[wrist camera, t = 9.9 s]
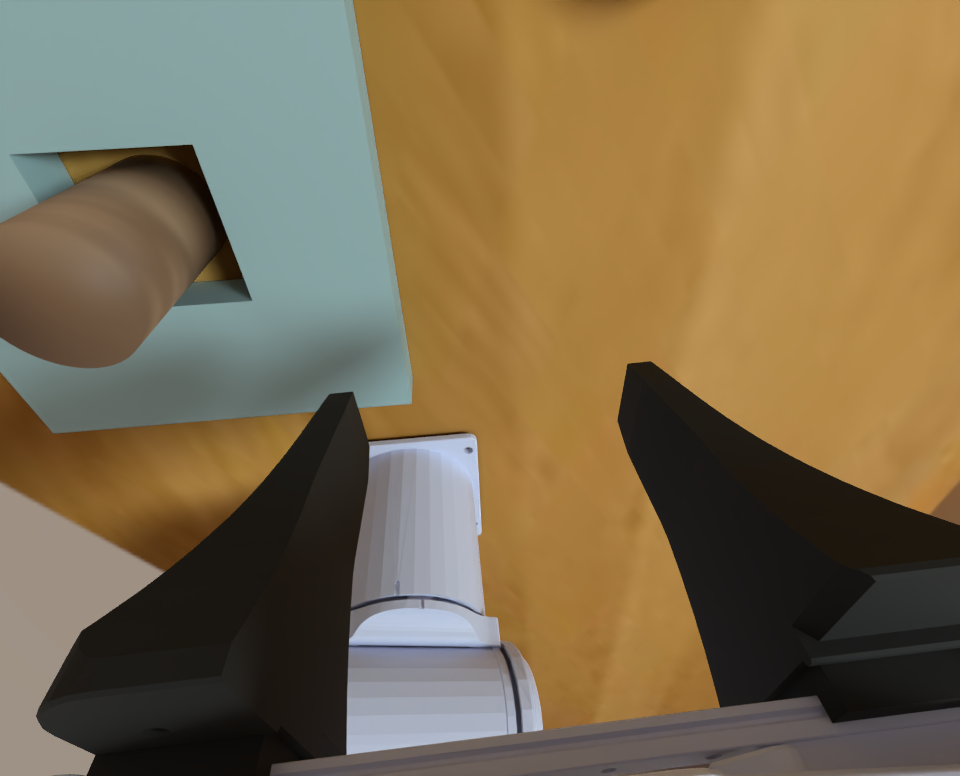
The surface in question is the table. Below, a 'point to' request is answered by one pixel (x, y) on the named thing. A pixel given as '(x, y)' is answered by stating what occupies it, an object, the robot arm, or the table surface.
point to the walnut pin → (105, 261)
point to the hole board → (217, 200)
